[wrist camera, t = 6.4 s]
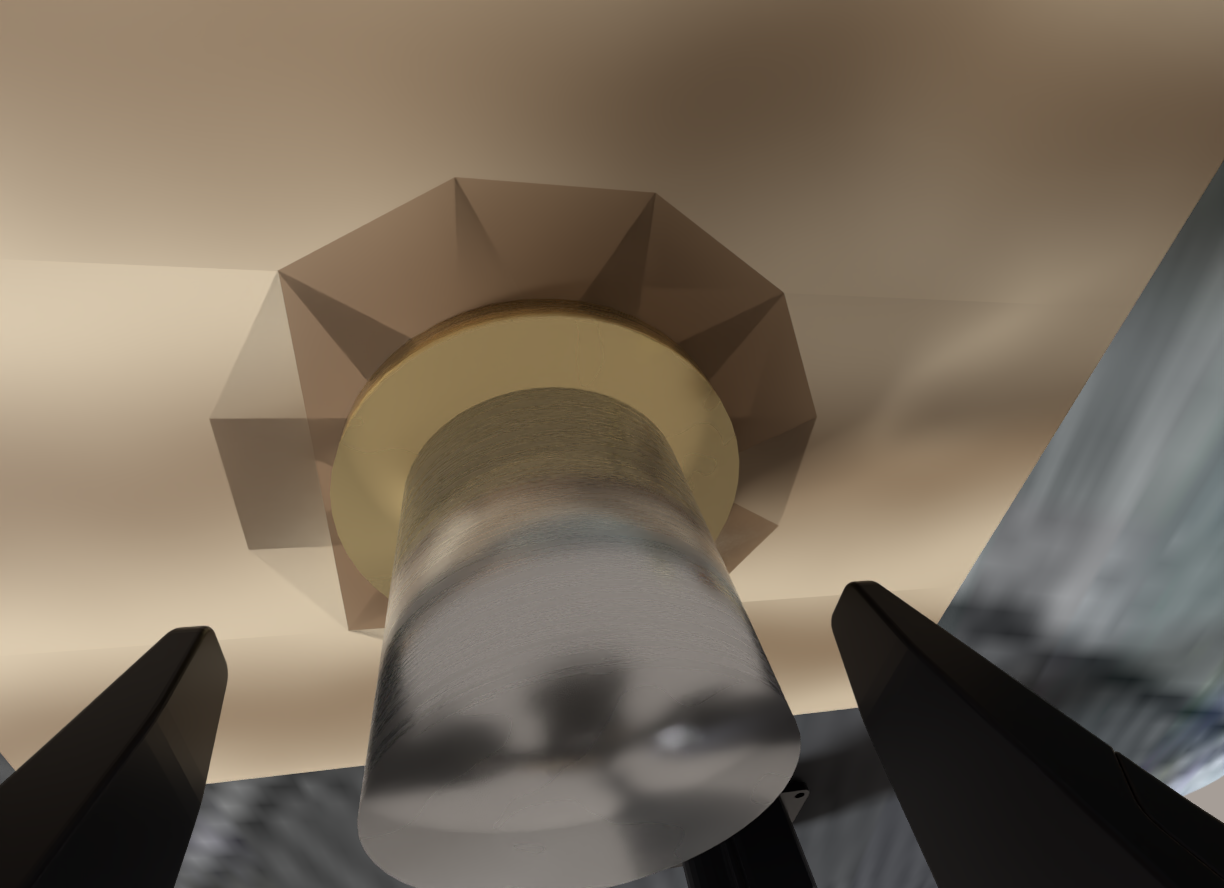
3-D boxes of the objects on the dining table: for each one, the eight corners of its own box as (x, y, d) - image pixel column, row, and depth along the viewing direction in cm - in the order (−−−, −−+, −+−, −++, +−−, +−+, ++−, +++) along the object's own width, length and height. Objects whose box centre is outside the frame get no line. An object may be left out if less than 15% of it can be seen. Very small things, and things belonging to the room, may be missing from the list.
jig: (826, 602, 22) (887, 703, 19) (121, 655, 17) (41, 803, 14) (1111, -26, 12) (1346, -39, 9) (-391, -309, 7) (-1075, -558, 4)
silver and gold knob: (651, 495, 17) (795, 884, 9) (384, 504, 15) (300, 974, 8) (699, 240, 13) (1011, 557, 6) (347, 218, 12) (114, 614, 4)
